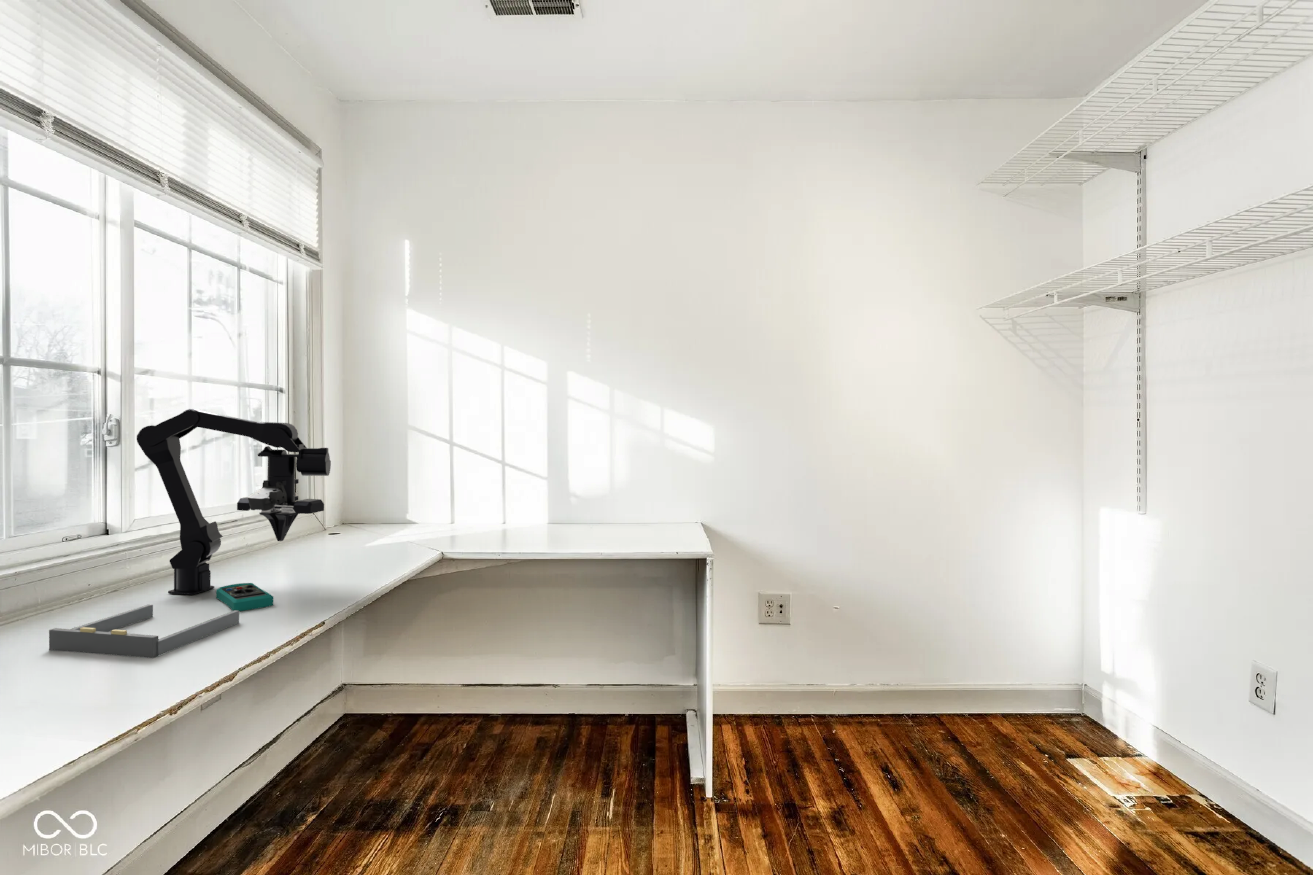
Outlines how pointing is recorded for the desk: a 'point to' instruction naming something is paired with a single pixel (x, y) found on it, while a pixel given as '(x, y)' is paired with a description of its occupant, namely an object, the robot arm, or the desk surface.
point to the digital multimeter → (244, 596)
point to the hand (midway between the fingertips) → (280, 540)
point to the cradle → (132, 635)
